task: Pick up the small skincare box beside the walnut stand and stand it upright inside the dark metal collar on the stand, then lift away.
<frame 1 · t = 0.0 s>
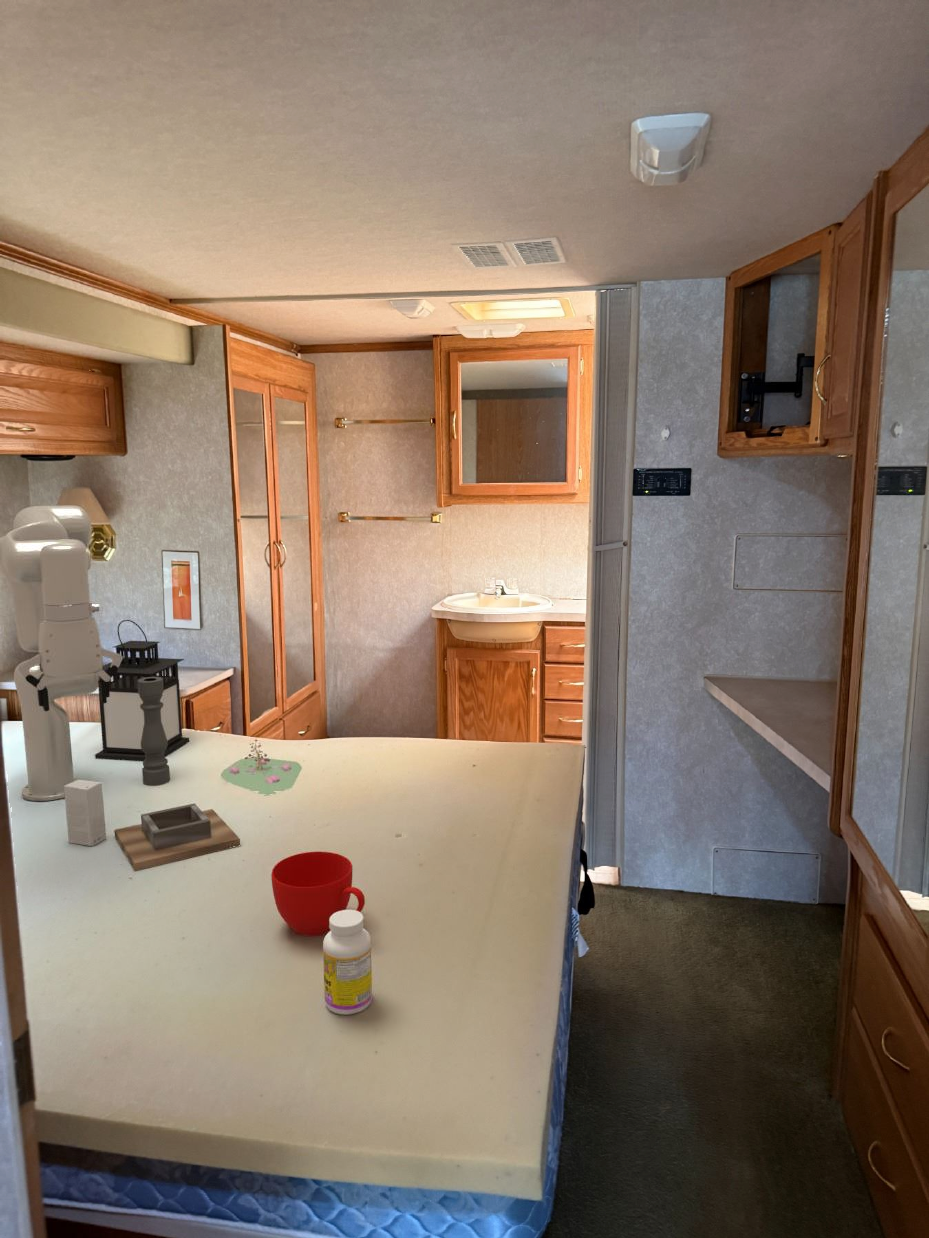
hand: (75, 705, 156), 31 cm above the counter, tool pointing down, fingers open, 9 cm apart
lantern: (143, 750, 229), on the counter
plant: (265, 779, 209), on the counter
stand: (176, 841, 172), on the counter
supplement bottle: (348, 1003, 120), on the counter
skincare box: (87, 841, 173), on the counter
ceramic cup: (323, 930, 140), on the counter
candle holder: (156, 781, 206), on the counter
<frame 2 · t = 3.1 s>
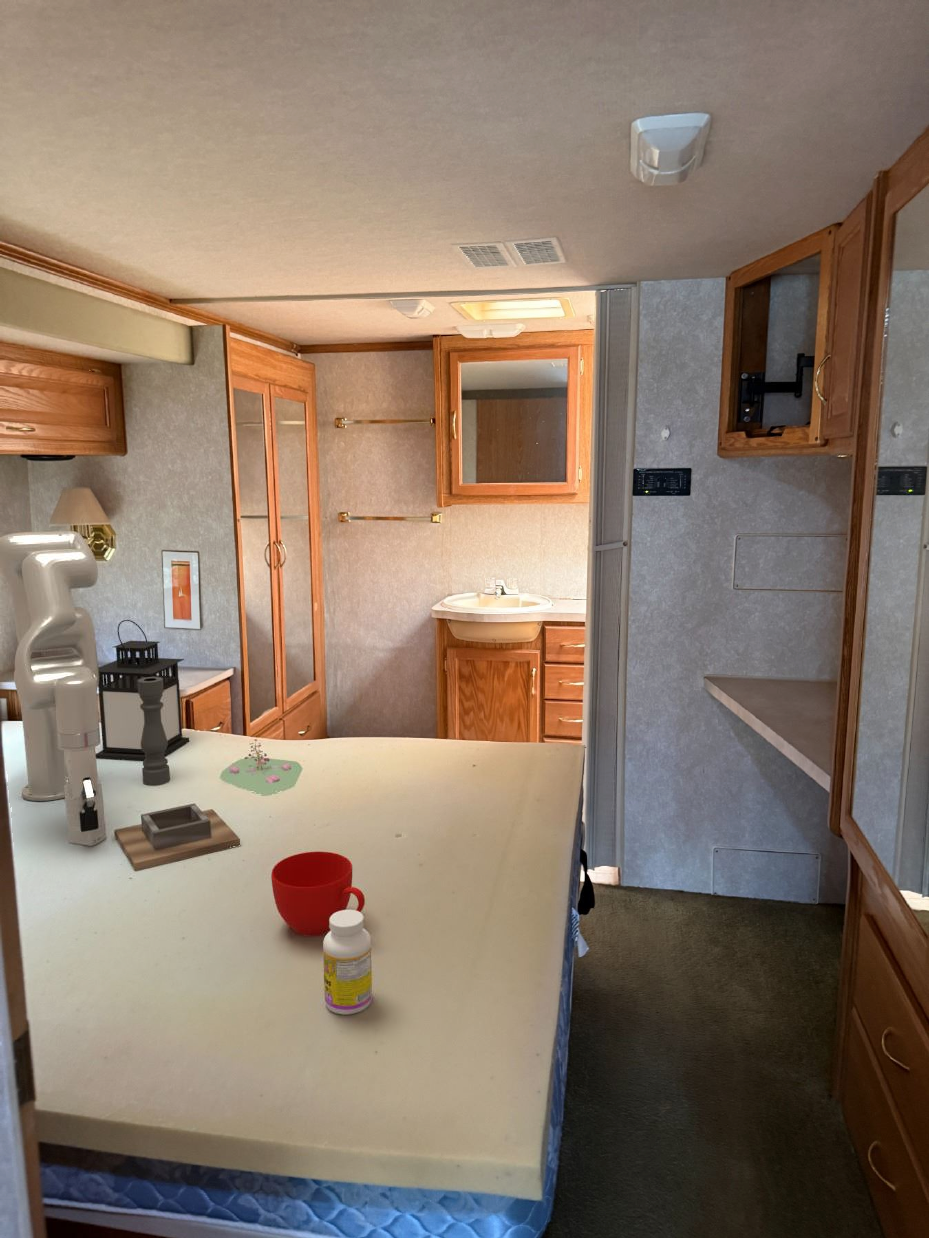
hand: (86, 822, 172), 4 cm above the counter, tool pointing down, fingers closed on skincare box, 7 cm apart
skincare box: (87, 841, 173), on the counter, touching gripper
everything else where it was.
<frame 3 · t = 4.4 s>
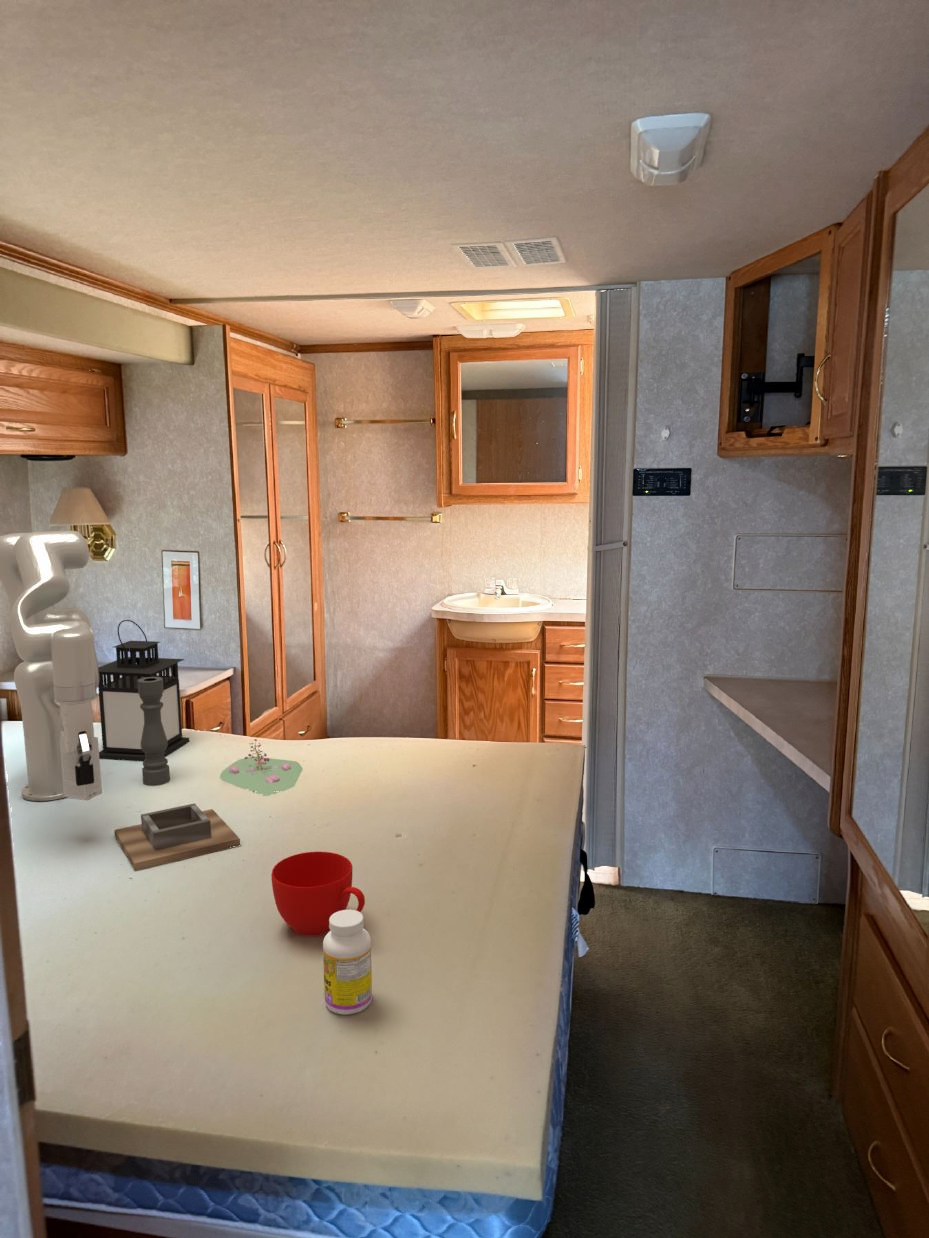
hand: (81, 776, 171), 13 cm above the counter, tool pointing down, fingers closed on skincare box, 7 cm apart
skincare box: (82, 796, 172), point 9 cm above the counter, touching gripper
everything else where it was.
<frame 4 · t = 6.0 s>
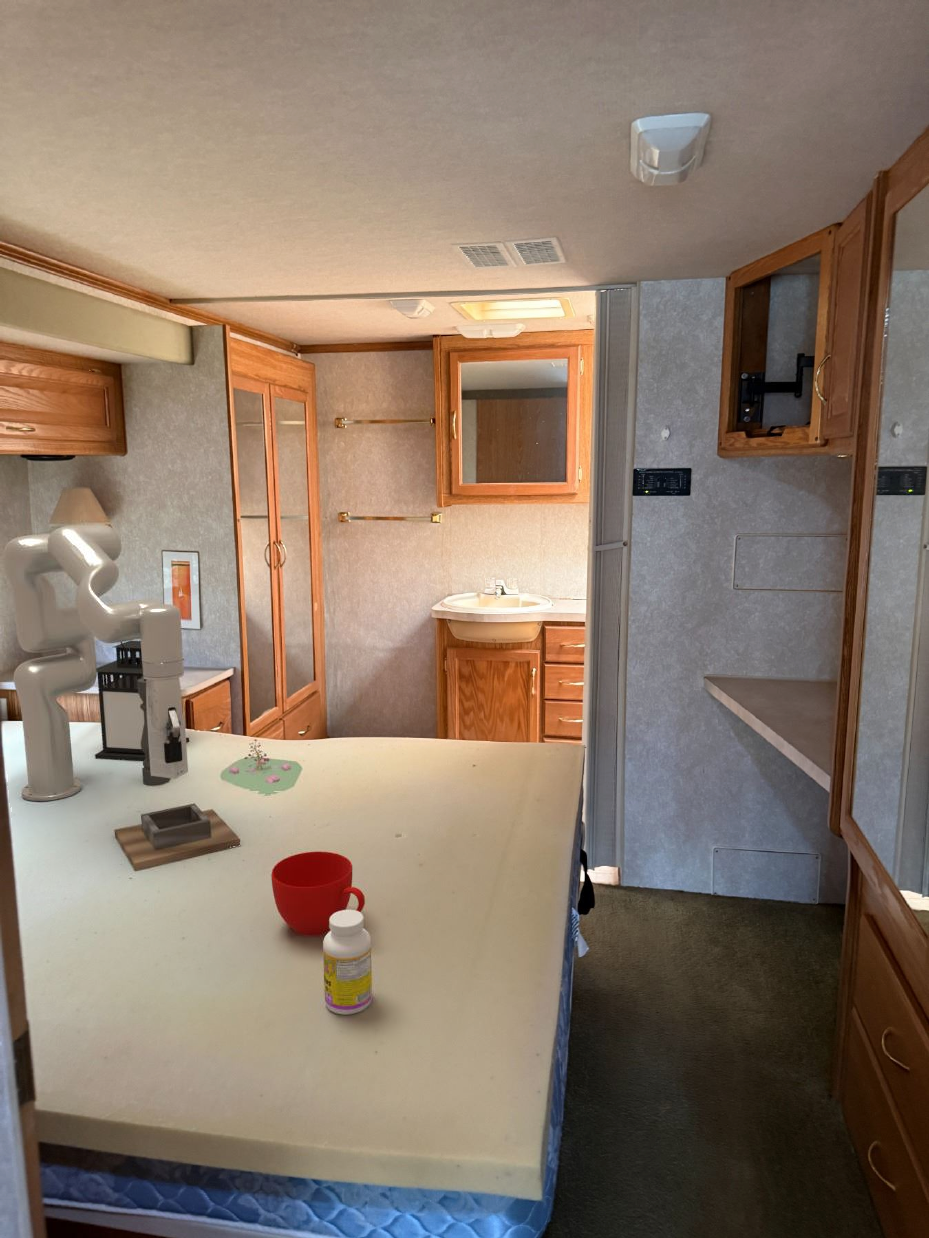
hand: (168, 755, 169), 18 cm above the counter, tool pointing down, fingers closed on skincare box, 7 cm apart
skincare box: (169, 775, 170), point 14 cm above the counter, touching gripper
everything else where it was.
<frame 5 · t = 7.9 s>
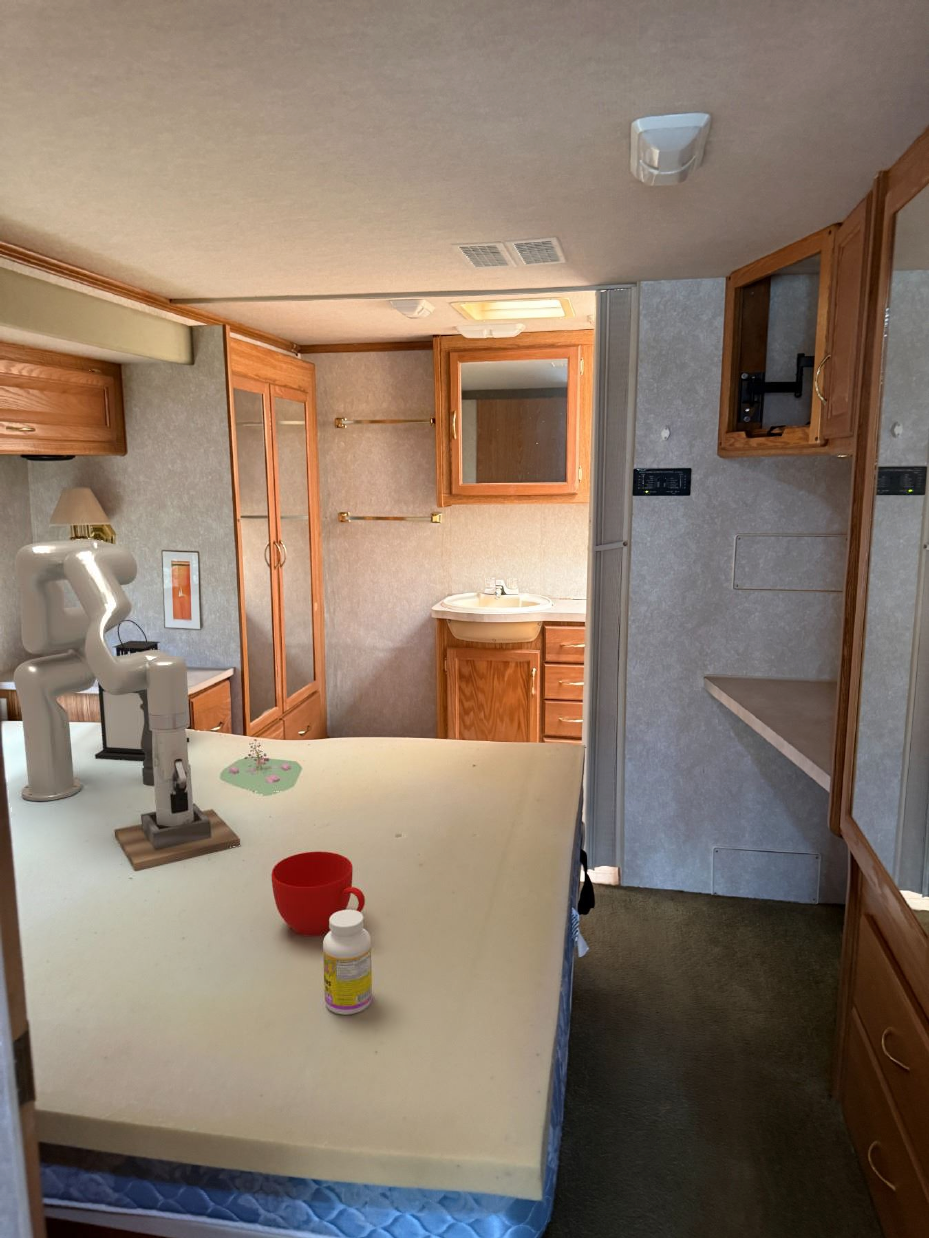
hand: (174, 804, 171), 8 cm above the counter, tool pointing down, fingers closed on skincare box, 7 cm apart
skincare box: (175, 823, 172), point 4 cm above the counter, touching gripper
everything else where it was.
when the fingers open (7 cm above the counter, at t = 9.1 s): skincare box drops 1 cm, resting on stand.
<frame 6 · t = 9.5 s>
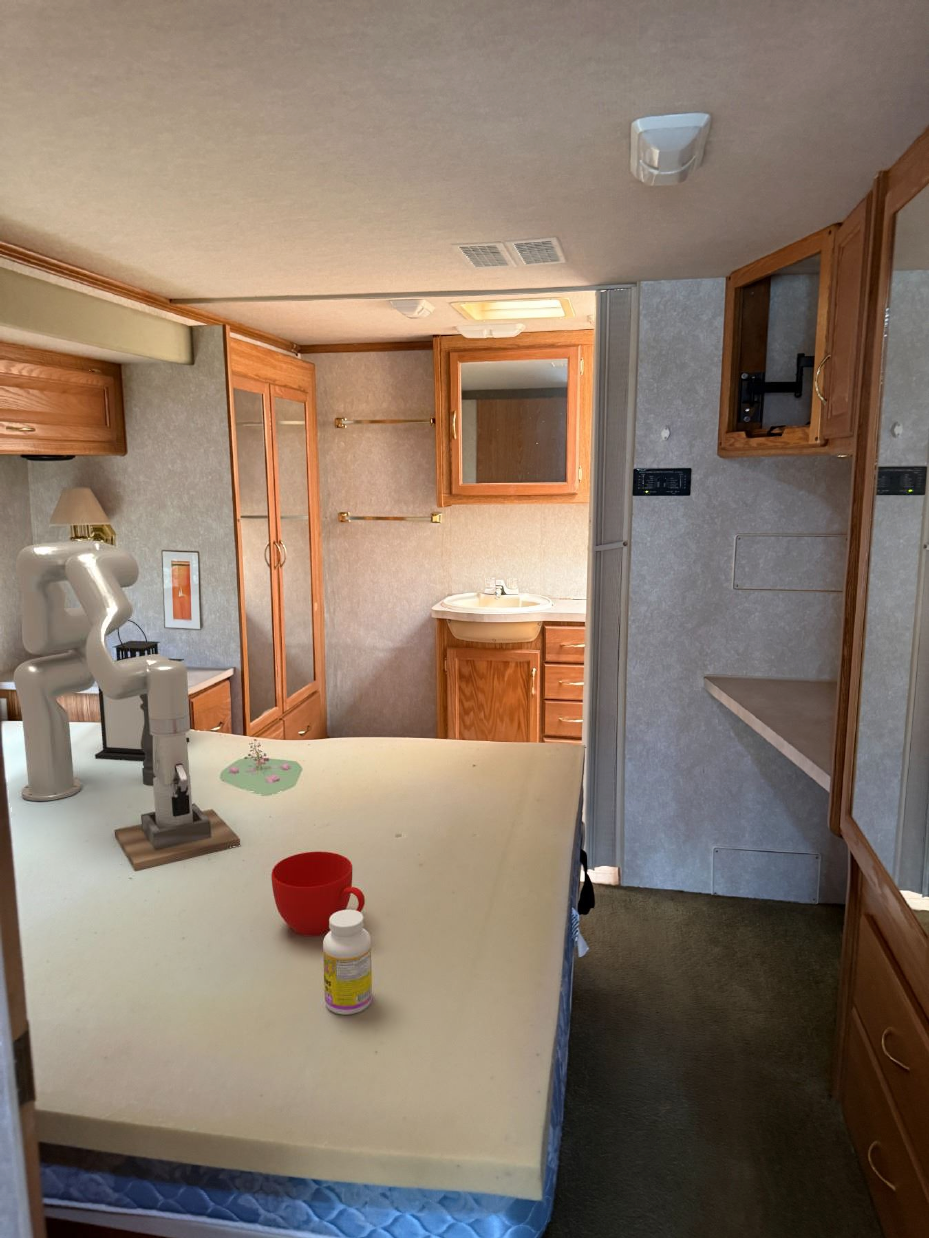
hand: (174, 806, 171), 7 cm above the counter, tool pointing down, fingers open, 9 cm apart
skincare box: (175, 834, 173), point 1 cm above the counter, touching stand
everything else where it was.
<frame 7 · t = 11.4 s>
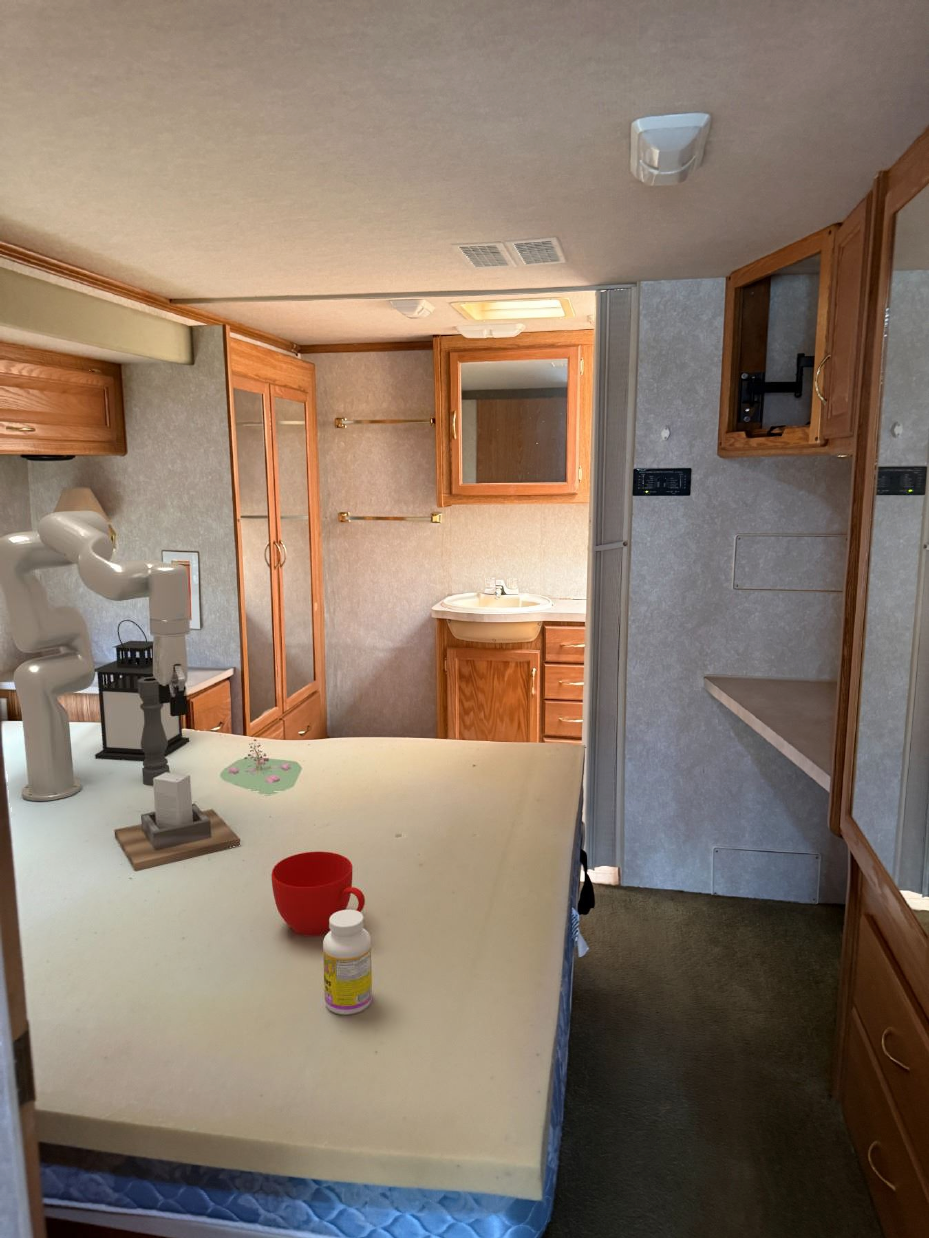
hand: (172, 708, 174), 26 cm above the counter, tool pointing down, fingers open, 9 cm apart
nothing on the counter moved.
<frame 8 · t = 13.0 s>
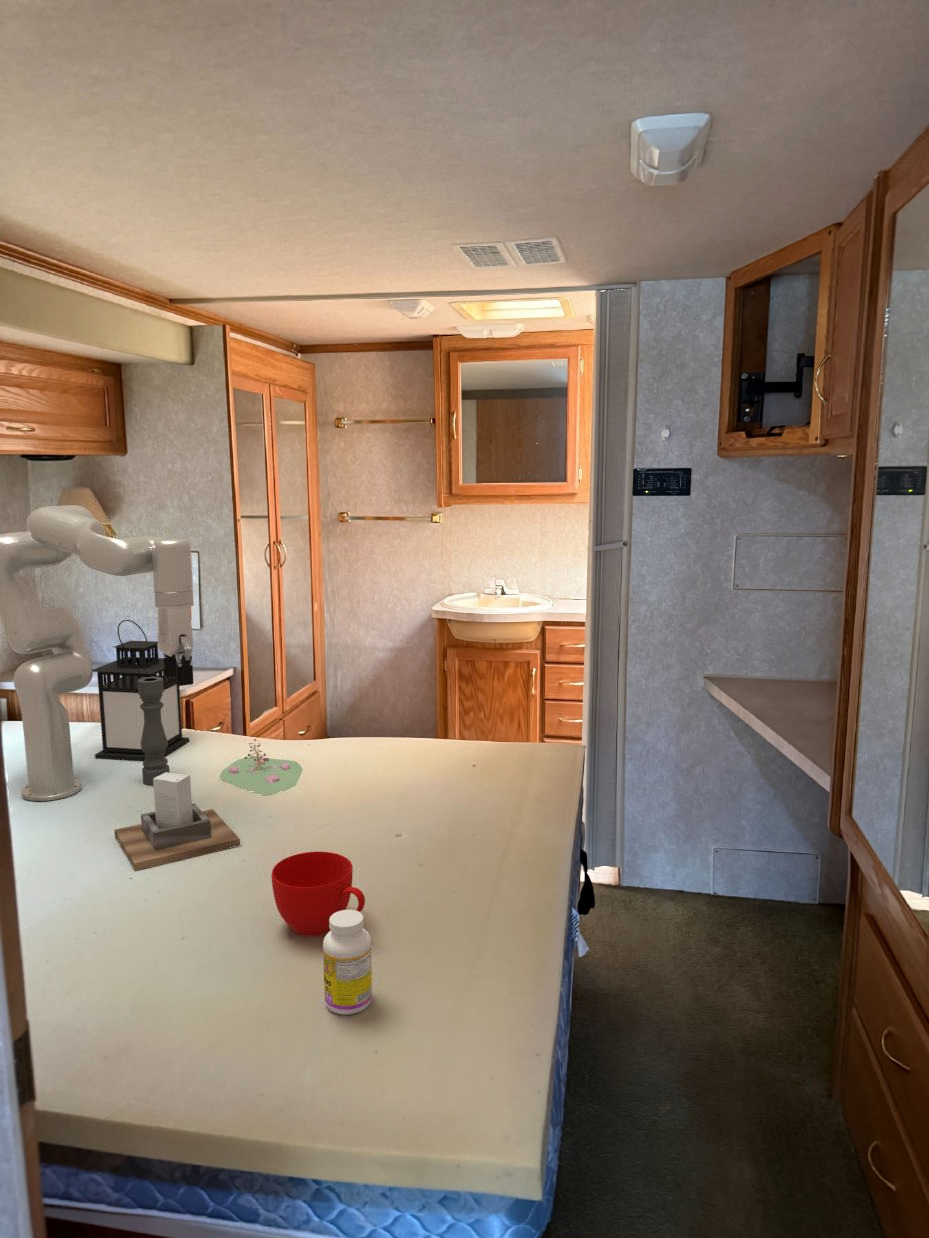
hand: (178, 680, 179), 30 cm above the counter, tool pointing down, fingers open, 9 cm apart
nothing on the counter moved.
at the end: skincare box 0.5 cm off-centre on the stand, point 1.3 cm above the stand's base; skincare box tilted 0°; the gripper is holding nothing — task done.
